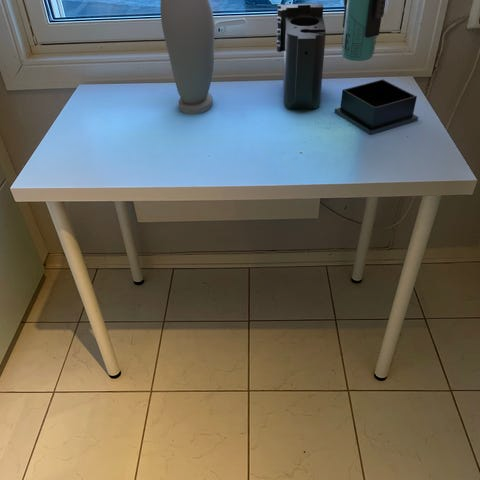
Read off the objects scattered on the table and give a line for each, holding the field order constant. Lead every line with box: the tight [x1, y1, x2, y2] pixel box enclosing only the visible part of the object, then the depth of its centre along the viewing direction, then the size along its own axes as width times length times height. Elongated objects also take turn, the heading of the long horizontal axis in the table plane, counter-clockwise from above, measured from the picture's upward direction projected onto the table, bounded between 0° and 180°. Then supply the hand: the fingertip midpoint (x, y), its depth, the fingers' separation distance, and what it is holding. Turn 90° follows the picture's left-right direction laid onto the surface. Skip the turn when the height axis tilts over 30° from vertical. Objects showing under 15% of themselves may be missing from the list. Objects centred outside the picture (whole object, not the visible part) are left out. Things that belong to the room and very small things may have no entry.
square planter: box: [334, 78, 419, 136], centre depth 132 cm, size 15×15×6 cm
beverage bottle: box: [340, 0, 378, 62], centre depth 98 cm, size 6×7×20 cm
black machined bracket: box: [276, 3, 327, 110], centre depth 136 cm, size 12×21×22 cm, turn 177°
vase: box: [159, 0, 215, 115], centre depth 130 cm, size 13×13×35 cm
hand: (360, 30), depth 101 cm, fingers closed on beverage bottle, 6 cm apart
